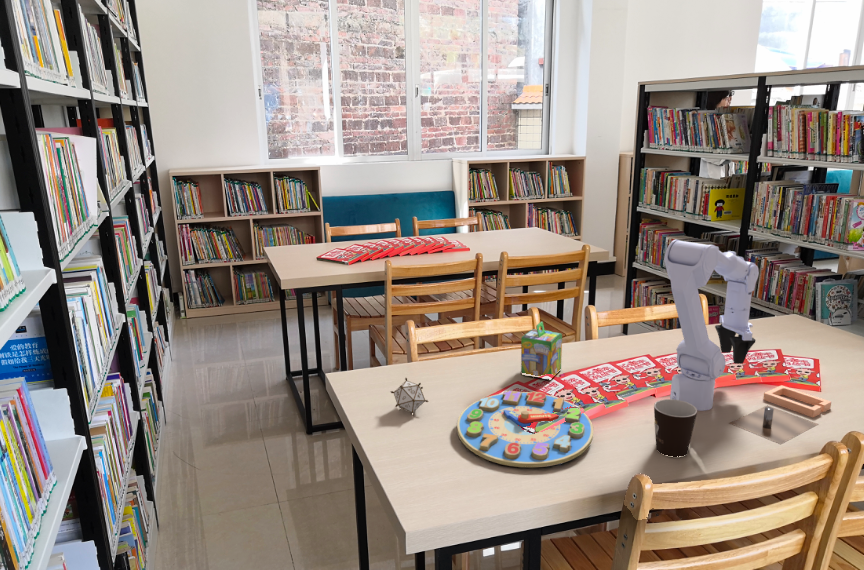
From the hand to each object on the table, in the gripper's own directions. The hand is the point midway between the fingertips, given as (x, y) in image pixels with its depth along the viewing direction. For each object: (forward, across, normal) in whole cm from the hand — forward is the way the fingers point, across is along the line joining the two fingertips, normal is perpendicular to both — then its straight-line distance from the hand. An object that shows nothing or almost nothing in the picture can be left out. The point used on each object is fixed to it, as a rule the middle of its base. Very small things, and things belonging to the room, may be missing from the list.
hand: (731, 357), depth 162 cm
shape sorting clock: (+10, -23, +56) cm, 61 cm away
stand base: (+9, -20, -2) cm, 23 cm away
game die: (+10, -11, +83) cm, 84 cm away
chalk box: (+10, +13, +47) cm, 50 cm away
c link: (+9, -10, -12) cm, 18 cm away
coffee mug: (+10, -29, +24) cm, 39 cm away
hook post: (+8, -22, +1) cm, 24 cm away
